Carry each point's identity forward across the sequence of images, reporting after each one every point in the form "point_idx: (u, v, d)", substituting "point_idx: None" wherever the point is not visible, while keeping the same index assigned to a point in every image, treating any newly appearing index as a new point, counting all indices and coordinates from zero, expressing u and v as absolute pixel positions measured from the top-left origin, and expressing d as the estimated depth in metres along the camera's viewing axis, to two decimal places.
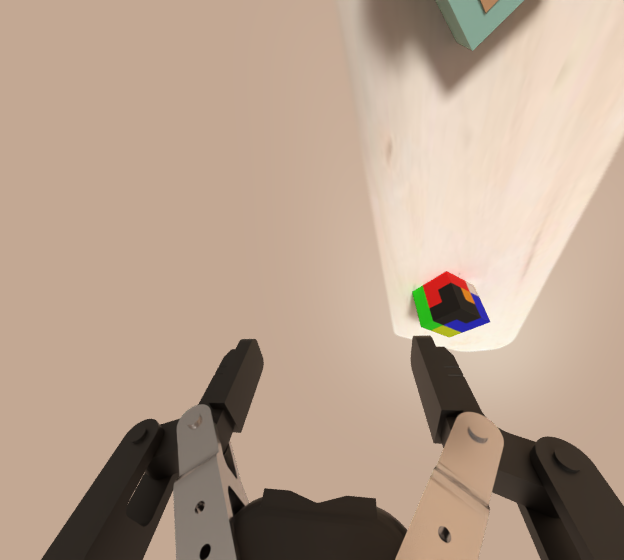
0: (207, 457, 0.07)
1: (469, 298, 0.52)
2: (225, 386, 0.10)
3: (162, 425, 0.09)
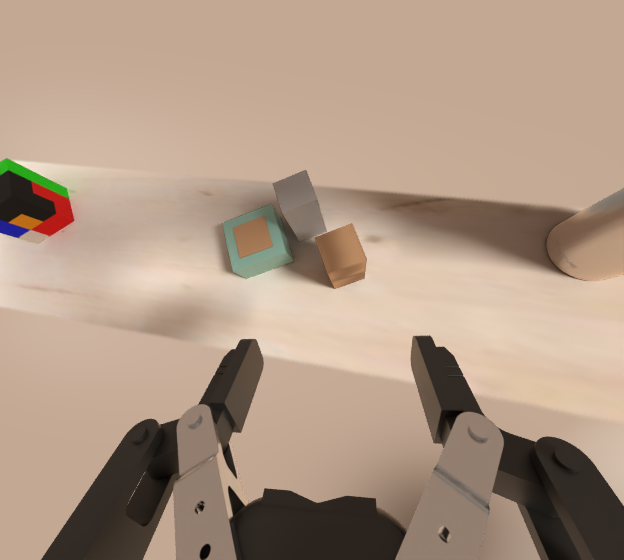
0: (207, 457, 0.07)
1: (21, 221, 0.48)
2: (225, 386, 0.10)
3: (162, 425, 0.09)
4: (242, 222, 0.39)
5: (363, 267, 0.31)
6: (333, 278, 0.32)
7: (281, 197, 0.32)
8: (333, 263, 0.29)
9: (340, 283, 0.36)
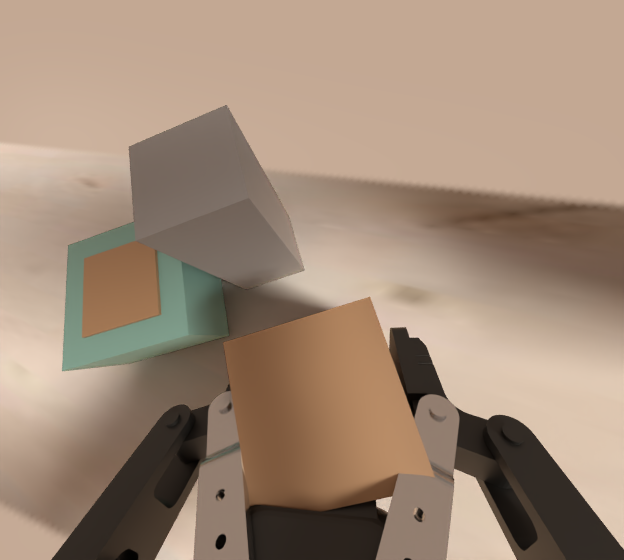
0: (232, 445, 0.08)
1: None
2: None
3: (194, 412, 0.09)
4: (107, 247, 0.17)
5: None
6: None
7: (143, 188, 0.10)
8: (283, 478, 0.06)
9: None
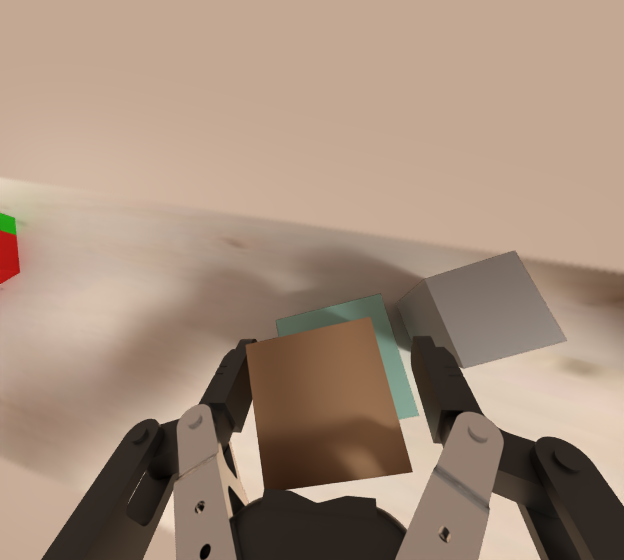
0: (207, 457, 0.07)
1: None
2: (225, 386, 0.10)
3: (162, 425, 0.09)
4: (317, 326, 0.19)
5: None
6: None
7: (454, 320, 0.13)
8: (291, 458, 0.08)
9: None
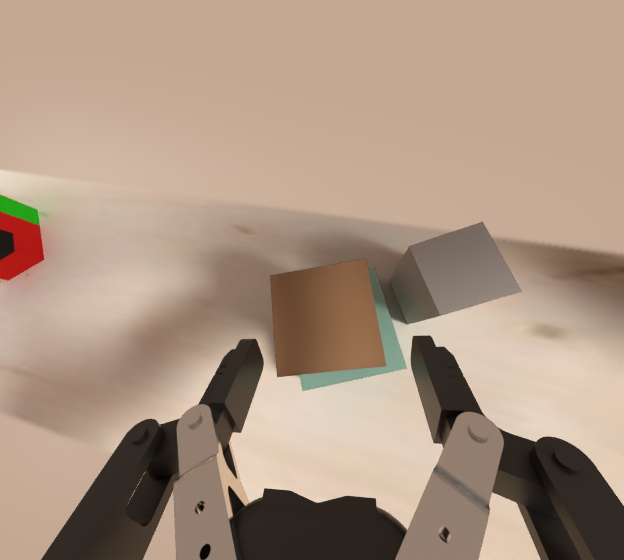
0: (207, 457, 0.07)
1: None
2: (225, 386, 0.10)
3: (162, 425, 0.09)
4: None
5: None
6: None
7: (433, 278, 0.15)
8: (298, 354, 0.11)
9: None
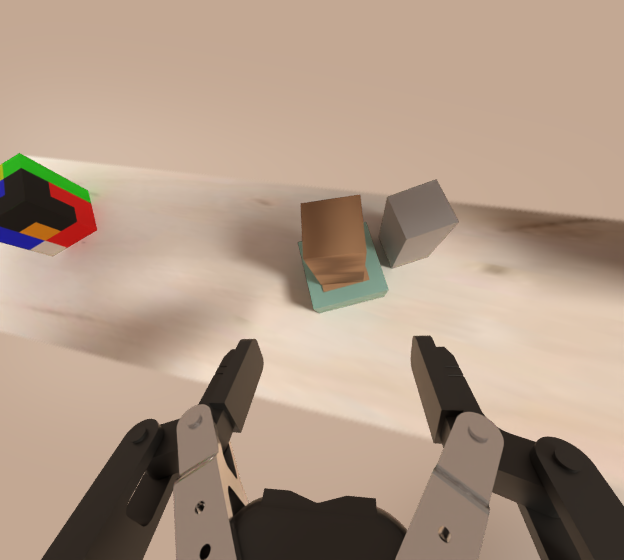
0: (207, 457, 0.07)
1: (35, 231, 0.39)
2: (225, 386, 0.10)
3: (162, 425, 0.09)
4: None
5: (361, 264, 0.21)
6: (315, 269, 0.22)
7: (402, 216, 0.23)
8: (316, 246, 0.19)
9: (328, 279, 0.26)
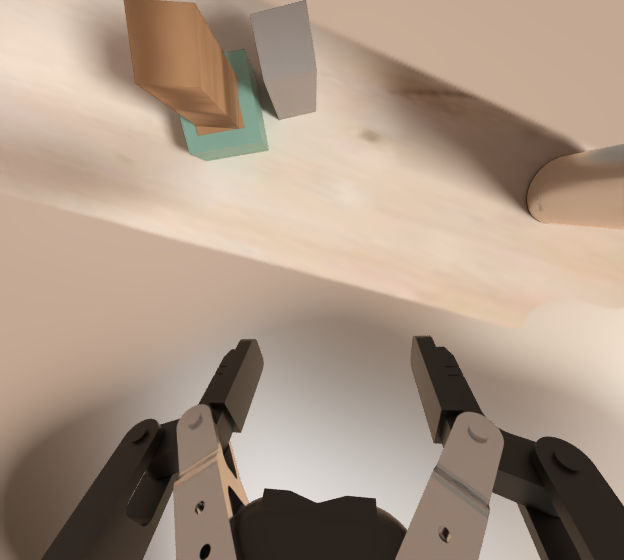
0: (207, 457, 0.07)
1: None
2: (225, 386, 0.10)
3: (162, 425, 0.09)
4: None
5: (213, 104, 0.21)
6: (167, 102, 0.21)
7: (263, 49, 0.21)
8: (148, 69, 0.18)
9: (196, 119, 0.25)
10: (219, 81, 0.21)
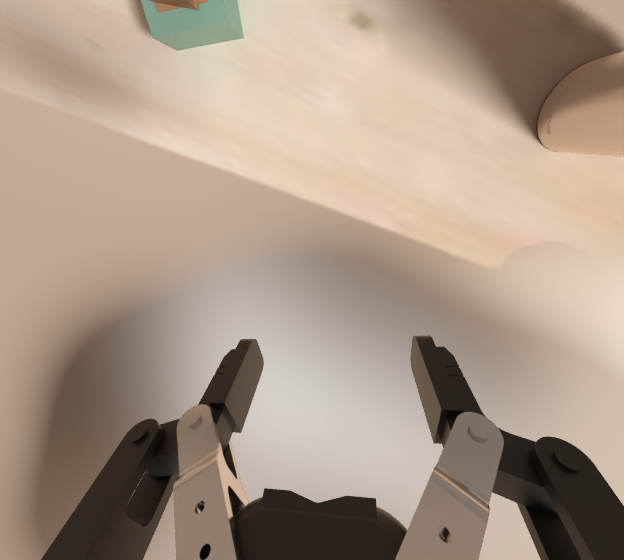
0: (207, 457, 0.07)
1: None
2: (225, 386, 0.10)
3: (162, 425, 0.09)
4: None
5: None
6: None
7: None
8: None
9: None
10: None
